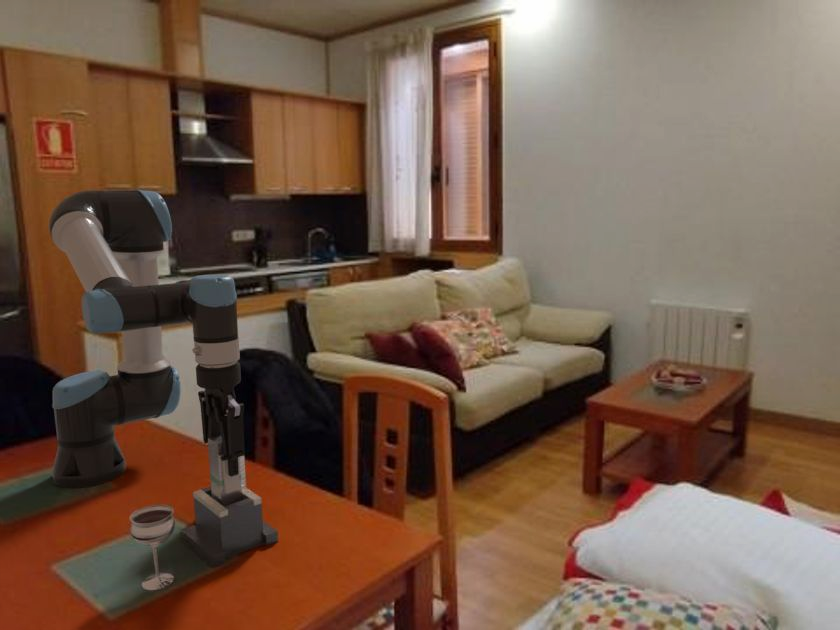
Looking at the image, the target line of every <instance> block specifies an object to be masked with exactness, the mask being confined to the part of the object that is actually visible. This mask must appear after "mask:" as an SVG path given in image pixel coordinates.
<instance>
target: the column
mask: <svg viewBox="0 0 840 630" xmlns="http://www.w3.org/2000/svg"><path fill="white" fill-rule="evenodd" d="M207 449H208V461H209V479H210V486H211V493H212V498H213V499H214V500H216V501H217V502H218V503H220V504H221V505H222V506H224V507H225V506H227V505H230V504H233V503H236V502H239V501H242V487H241V470H240V457H238V462H239V478H240V490H237V491H234V492H231V493H228V494H226V493H224V480H223V465H222V460H221V458H220V457H224V450H223V444H222V438H221V434H220V435H217V436H213V437H209V438H208V443H207Z"/></svg>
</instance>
